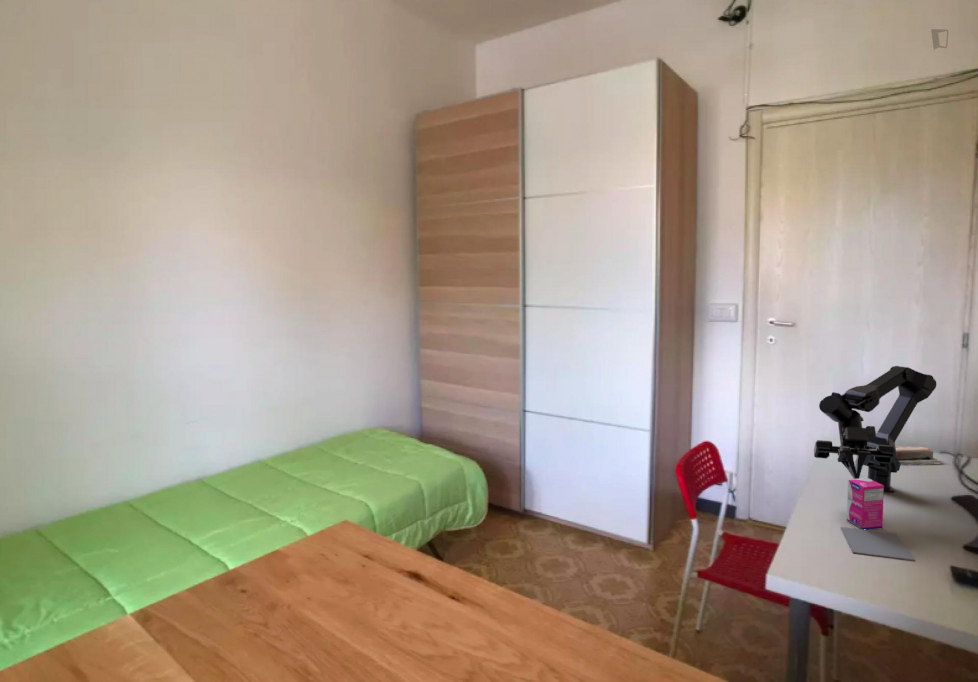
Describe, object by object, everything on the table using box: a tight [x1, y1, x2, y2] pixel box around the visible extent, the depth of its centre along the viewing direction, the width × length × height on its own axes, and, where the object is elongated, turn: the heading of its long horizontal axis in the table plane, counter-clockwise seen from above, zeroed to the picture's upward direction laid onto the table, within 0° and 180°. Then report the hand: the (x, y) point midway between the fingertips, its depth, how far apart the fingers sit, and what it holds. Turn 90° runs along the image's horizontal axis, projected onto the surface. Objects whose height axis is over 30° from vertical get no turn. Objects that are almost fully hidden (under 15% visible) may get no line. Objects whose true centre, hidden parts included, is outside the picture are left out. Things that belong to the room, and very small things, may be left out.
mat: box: [840, 526, 916, 562], centre depth 138 cm, size 14×12×1 cm
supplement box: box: [846, 477, 885, 530], centre depth 147 cm, size 6×6×12 cm
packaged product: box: [895, 446, 942, 465], centre depth 196 cm, size 18×5×10 cm
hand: (856, 479), depth 154 cm, fingers closed
